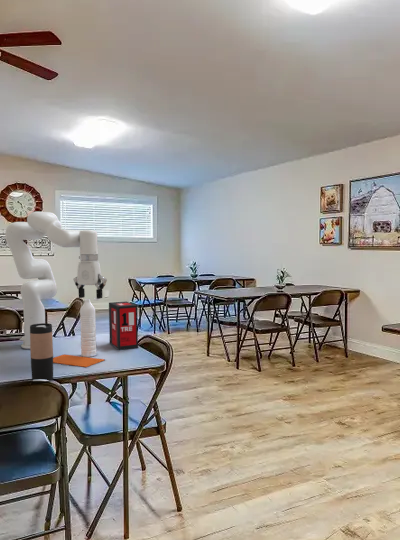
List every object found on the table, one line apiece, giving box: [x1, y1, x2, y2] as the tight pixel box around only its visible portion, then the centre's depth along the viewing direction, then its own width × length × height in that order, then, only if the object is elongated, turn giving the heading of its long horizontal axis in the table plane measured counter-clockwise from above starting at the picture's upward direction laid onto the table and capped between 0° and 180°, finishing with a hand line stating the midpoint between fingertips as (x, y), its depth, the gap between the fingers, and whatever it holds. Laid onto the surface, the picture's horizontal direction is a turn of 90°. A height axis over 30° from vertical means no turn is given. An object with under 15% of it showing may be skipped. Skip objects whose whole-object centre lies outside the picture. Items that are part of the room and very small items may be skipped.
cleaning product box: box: [108, 300, 139, 351], centre depth 222 cm, size 16×9×20 cm, turn 26°
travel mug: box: [29, 322, 54, 381], centre depth 167 cm, size 8×8×20 cm
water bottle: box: [79, 297, 101, 358], centre depth 204 cm, size 9×6×25 cm
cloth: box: [53, 354, 106, 368], centre depth 195 cm, size 22×12×1 cm, turn 64°
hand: (90, 298), depth 203 cm, fingers open, 9 cm apart
